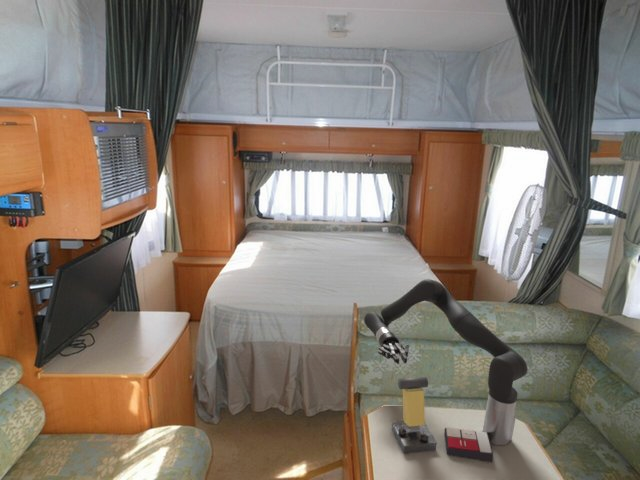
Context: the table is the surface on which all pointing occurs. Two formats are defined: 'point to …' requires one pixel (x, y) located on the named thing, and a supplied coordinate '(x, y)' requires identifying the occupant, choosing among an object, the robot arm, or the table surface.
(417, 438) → the base
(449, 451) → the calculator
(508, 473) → the table surface
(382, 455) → the table surface
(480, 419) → the table surface
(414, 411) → the yellow toy mallet
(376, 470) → the table surface
